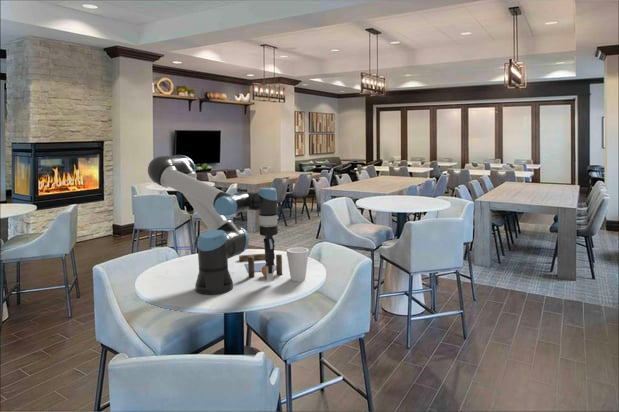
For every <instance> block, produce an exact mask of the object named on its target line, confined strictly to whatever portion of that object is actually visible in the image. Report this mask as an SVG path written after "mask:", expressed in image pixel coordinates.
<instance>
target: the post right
mask: <svg viewBox="0 0 619 412" xmlns="http://www.w3.org/2000/svg"><path fill="white" fill-rule="evenodd" d="M282 255H283V254H279V253H278V254H275V266H276V270H275V271H276V276H282V275H283V256H282Z"/></svg>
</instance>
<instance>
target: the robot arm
mask: <svg viewBox="0 0 619 412" xmlns="http://www.w3.org/2000/svg"><path fill="white" fill-rule="evenodd" d="M196 171H197V169H196V164H195V163H194V161H193V159H191V158H190V157H189V156H186V155H182V154H175V155H161V156H156V157H154V158H153V159H152V160H151V161H150V162H149V163H148V165H147V174H148V176H149V178H150V180H151V181H152V182H153V183H154V184H157V185H158V186H161V187H163V188H170V189H172V190H176V191H177V192H179V193H181V194H182V195H183V196H184V197H185V198H186V200H187V202H188V203H189V205H190V206H192V208H193V210H194V211H195V212H196V213H197V215H198V216H199V218H200V219H201V221H202V222H203V223H204V224H205V225H206V228H208V231H204V232H202V233H201V234H199V236H198V238H197V245H196V247H197V255H198V256H197V257H198V275H197V278H196V281H195V292H196V293H198V294H202V295H220V294H224V293H227V292H229V291H232V290H233V288H234V281H233V279H232V276H231V274H230V271H229V262H228V261H229V260H228V259H230V258H231V259H232V258H234V257H235V256H239V255H242V253H243V252H245V251H246V250H247V249H248V247H249V241H250V238H249V234H248V232H247V230H246V229H245V228H243V227H240V226H237V225H236V224H235V223H234V221H233V220H229V219H227V217H228V216H233V215H235V214H238V213H241V212H245V211H258V224H259V225H260V226H259V235H260V236H263V245H264V246H263V247H264V254H265V259H264V263H266V264H265V266H266V276H267V277H266V276H265V277H266V281H268V282H269V281H274V273H273V265H274V264H275V259H274V254H275V239H274V237H273V236H276V235H278V234H279V231H278V229H279V228H278V225H277V224H278V220H279V218H280V217H279V216H278V194H277V189H276V188H275V187H260V188H259V189H258V190H257V191H255V192H253V191H251V192H250V191H235V192H234V194H229V193H228V192H225V191H223V190H220V189H218V188H216V187H215V186H212V185H210V184H208V183H206V182H204V181H201V180H199V179H197V177H198V175H197V172H196ZM225 216H227V217H225Z"/></svg>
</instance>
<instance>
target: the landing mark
mask: <svg viewBox="0 0 619 412" xmlns="http://www.w3.org/2000/svg"><path fill="white" fill-rule="evenodd" d="M265 264H266V262H257V263H256V262H254V273H256V272H257V273H259V272H260V273H261V272H262V267H263V266H264V265H265ZM244 266H245V268H246V270H247V272H248V263H245V264H244ZM273 268H274V271H276V263H274V265H273Z"/></svg>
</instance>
